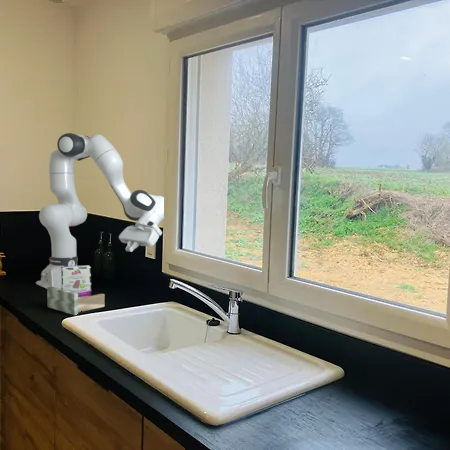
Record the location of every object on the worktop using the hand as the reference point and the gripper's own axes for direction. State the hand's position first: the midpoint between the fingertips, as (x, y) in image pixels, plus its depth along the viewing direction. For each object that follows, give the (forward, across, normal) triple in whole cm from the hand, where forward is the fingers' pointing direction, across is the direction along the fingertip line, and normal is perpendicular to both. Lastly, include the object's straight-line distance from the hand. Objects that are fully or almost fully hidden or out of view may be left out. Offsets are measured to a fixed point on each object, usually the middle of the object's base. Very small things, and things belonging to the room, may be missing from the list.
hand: (128, 250), depth 220 cm
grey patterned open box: (+32, 0, -4) cm, 33 cm away
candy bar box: (+33, 0, -4) cm, 33 cm away
